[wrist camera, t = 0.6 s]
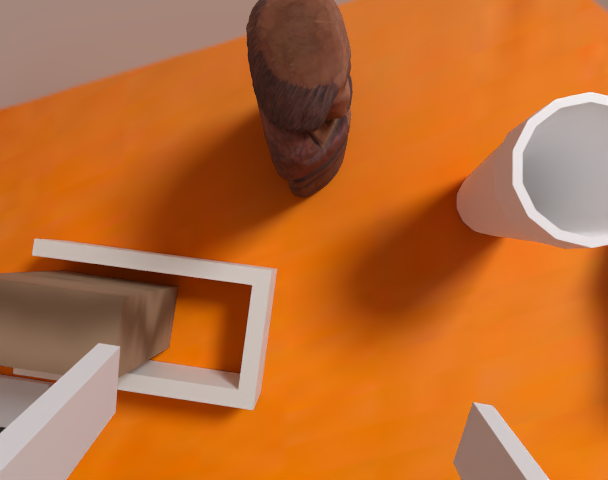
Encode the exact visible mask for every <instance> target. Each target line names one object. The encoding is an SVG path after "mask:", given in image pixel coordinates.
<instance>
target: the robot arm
mask: <svg viewBox="0 0 608 480" xmlns="http://www.w3.org/2000/svg"><path fill="white" fill-rule="evenodd" d="M119 358H120V346H114V345H108V344H102V343H98V344H97V345H96V346H95V347H94V348H93V349H92V350H91V351H90V352H88V353H87V354H86V355H85V356H84V357H83V358H82V359H81V360H80V361H79V362H77V363H76V364H75V365H74V366H73V367H72V368H71V369H70V370H69V371H68V372H67V373H65V374H64V375H63V376H62V377H61V378H60V379H59V380H58V381H57V382H56V383H55V384H53V385H52V386H51V387H50V388H49V389H48V390H47V391H46V392H45V393H44V394H43V395H41V396H40V397H39V398H38V399H37V400H36V401H35V402H34V403H33V404H32V405H31V406H29V407H28V408H27V409H26V410H25V411H24V412H23V413H22V414H21V415H20V416H19V417H17V418H16V419H15V420H14V421H13V422H12V423H11V424H10V425H9V426H8V427H7V428H5V427H0V480H66V479H67V478H68V476H69V475H70V474H71V472H72V471H73V470H74V468H75V467H76V465H77V464H78V463H79V461H80V460H81V459H82V457H83V456H84V455H85V453H86V452H87V450H88V449H89V448H90V446H91V445H92V444H93V442H94V441H95V439H96V438H97V437H98V435H99V434H100V433H101V431H102V430H103V429H104V427H105V426H106V424H107V423H108V422H109V420H110V419H111V418H112V416H113V415H114V414H115V412H116V400H117V386H118V372H119ZM453 463H454V465H455V467H456V469H457V471H458V473H459V475H460V477H461V479H462V480H549V478H548V477H547V476H546V474H545V473H544V472H543V471H542V469H541V468H540V467H539V465H538V464H537V463H536V461H535V460H534V459H533V457H532V456H531V455H530V453H529V452H528V451H527V450H526V448H525V447H524V446H523V444H522V443H521V442H520V440H519V439H518V438H517V436H516V435H515V434H514V432H513V431H512V430H511V429H510V427H509V426H508V425H507V423H506V422H505V421H504V419H503V418H502V417H501V415H500V414H499V413H498V412H497V410H496V409H495V408H494V406H493V405H487V404H481V403H475V402H473V404H472V407H471V410H470V413H469V416H468V419H467V422H466V426H465V429H464V432H463V435H462V438H461V441H460V444H459V447H458V450H457V453H456V456H455V459H454V462H453Z"/></svg>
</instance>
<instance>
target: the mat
mask: <svg viewBox="0 0 608 480" xmlns="http://www.w3.org/2000/svg"><path fill="white" fill-rule="evenodd" d="M52 385H53V382H47V381H40V380H34V379H27V378H20V377H14V376H7V375H1V374H0V427H5V428H7V427H8V426H9V425H10V424H11V423H12V422H13V421H14V420H15V419H16V418H17V417H19V416H20V415H21V414H22V413H23V412H24V411H25V410H26V409H27V408H28V407H29V406H31V405H32V404H33V403H34V402H35V401H36V400H37V399H38V398H39V397H40V396H41V395H43V394H44V393H45V392H46V391H47V390H48V389H49V388H50V387H51V386H52Z"/></svg>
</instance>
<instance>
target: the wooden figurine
mask: <svg viewBox="0 0 608 480" xmlns="http://www.w3.org/2000/svg"><path fill="white" fill-rule="evenodd" d="M246 30H247V47H248V61H249V65H250V72H251V77H252V80H253V83H252V85H253V87H254V92H255V95H256V98H257V102H258V107H259V112H260V116H261V120H262V124H263V128H264V134H265V138H266V141H267V144H268V146H269V150H270V153H271V157H272V161H273V163H274V165H275V168H276V170H277V172H278V174H279V175H280V176H281V177H282V178H284V179H287V180H288V182H289V186H290V189H291V191H292V193H293V194H294V195H296V196H299V197H307V196H310V195H312V194H314V193H316V192H317V191H319V190H320V189H322V188H323V187H324V186H326V185H327V184H328V183H329V182H330V181H331V180H332V179H333V177H334V176H335V175H336V173H337V172H338V170H339V168H340V166H341V164H342V162H343V159H344V155H345V150H346V145H347V140H348V133H349V128H350V120H351V110H350V105H351V98H352V81H351V77H350V74H349V73H350V70H351V62H350V58H351V50H350V45H349V40H348V37H347V33H346V29H345V25H344V21H343V18H342V15H341V12H340V10H339V8H338V6H337V4H336V3H335V1H334V0H259V1H258V2H257V3H256V5H255V6H254V7H253V9H252V11H251V14H250V16H249V22H248V24H247V27H246Z"/></svg>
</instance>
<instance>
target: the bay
mask: <svg viewBox="0 0 608 480" xmlns="http://www.w3.org/2000/svg"><path fill="white" fill-rule="evenodd" d="M32 255H34V256H41V257H48V258H56V259H63V260H71V261H78V262H85V263H93V264H100V265H108V266H115V267H122V268H130V269H137V270H145V271H152V272H159V273H167V274H174V275H182V276H189V277H196V278H204V279H211V280H219V281H226V282H234V283H241V284H248V285H252V292H251V299H250V306H249V314H248V321H247V329H246V336H245V343H244V351H243V358H242V365H241V373H233V372H226V371H219V370H212V369H206V368H199V367H192V366H185V365H178V364H172V363H165V362H158V361H151V360H147V361H146V362H144V363H142V364H141V365H139V366H137V367H136V368H134V369H132V370H131V371H129V372H127V373H126V374H124V375H122V376H121V377H119V378H118V386H117V390H123V391H130V392H137V393H143V394H150V395H156V396H163V397H170V398H176V399H183V400H189V401H196V402H203V403H209V404H216V405H222V406H229V407H236V408H242V409H249V410H253V409H254V407H255V405H256V402H257V400H258V398H259V395H260V393H261V386H262V379H263V371H264V364H265V356H266V349H267V341H268V334H269V326H270V319H271V311H272V303H273V296H274V288H275V281H276V273H277V269H276V268H268V267H261V266H253V265H246V264H238V263H230V262H223V261H215V260H208V259H200V258H193V257H185V256H178V255H170V254H163V253H155V252H147V251H140V250H132V249H125V248H117V247H110V246H102V245H95V244H87V243H79V242H72V241H63V240H48V239H34V246H33V252H32ZM13 374H18V375H25V376H31V377H38V378H44V379H51V380H59V379H60V378H61V377H62V376H63V375H59V374H52V373H45V372H39V371H32V370H25V369H19V368H14V369H13Z"/></svg>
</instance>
